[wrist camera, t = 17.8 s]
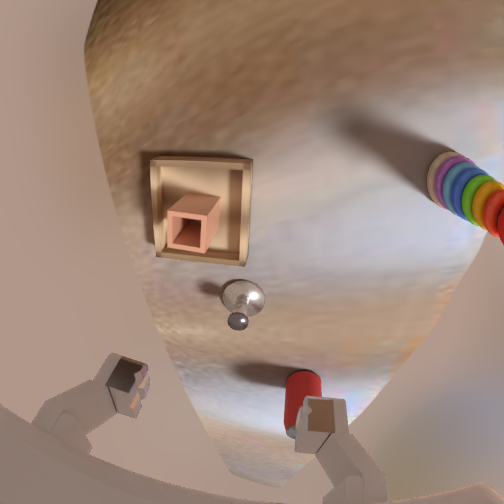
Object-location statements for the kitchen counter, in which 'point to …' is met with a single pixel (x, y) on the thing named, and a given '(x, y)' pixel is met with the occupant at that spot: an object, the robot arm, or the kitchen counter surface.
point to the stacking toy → (467, 192)
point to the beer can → (299, 397)
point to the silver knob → (242, 302)
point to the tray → (211, 184)
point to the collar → (193, 233)
